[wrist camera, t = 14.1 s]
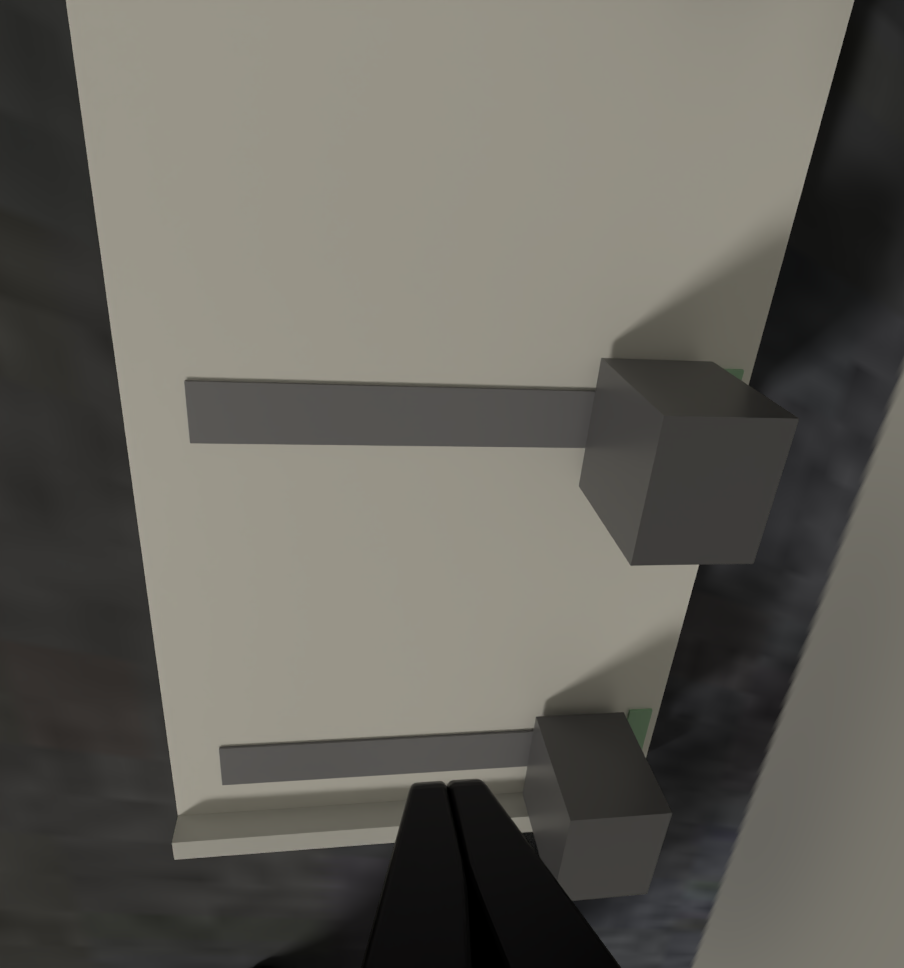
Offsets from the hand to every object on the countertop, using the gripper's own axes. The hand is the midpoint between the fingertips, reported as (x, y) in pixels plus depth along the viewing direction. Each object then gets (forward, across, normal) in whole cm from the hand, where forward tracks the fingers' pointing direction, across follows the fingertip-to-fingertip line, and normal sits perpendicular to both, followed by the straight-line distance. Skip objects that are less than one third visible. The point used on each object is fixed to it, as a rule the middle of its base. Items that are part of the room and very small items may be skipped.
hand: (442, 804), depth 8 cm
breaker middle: (+11, -7, 0) cm, 13 cm away
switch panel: (+13, -2, 0) cm, 13 cm away
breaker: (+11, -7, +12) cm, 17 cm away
